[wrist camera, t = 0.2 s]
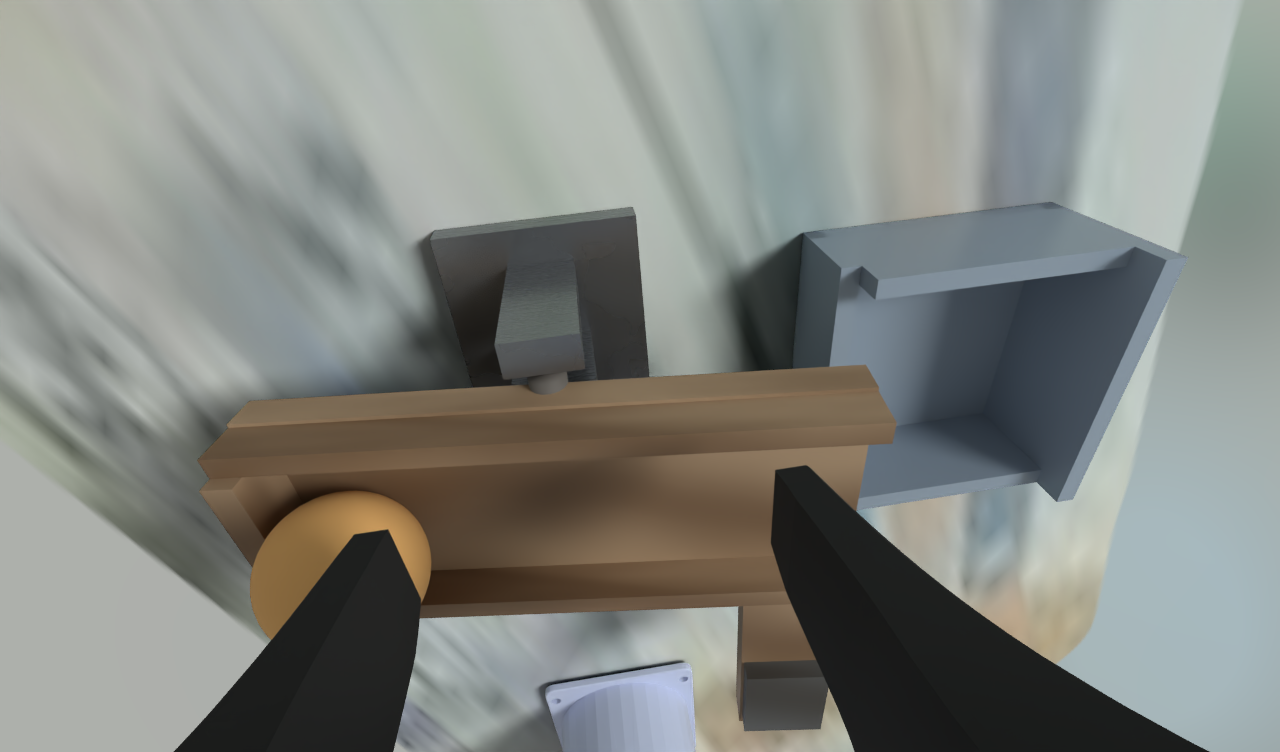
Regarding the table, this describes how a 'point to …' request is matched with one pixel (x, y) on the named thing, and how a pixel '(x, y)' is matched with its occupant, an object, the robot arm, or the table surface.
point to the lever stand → (546, 297)
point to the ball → (328, 549)
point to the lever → (580, 495)
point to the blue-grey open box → (983, 340)
